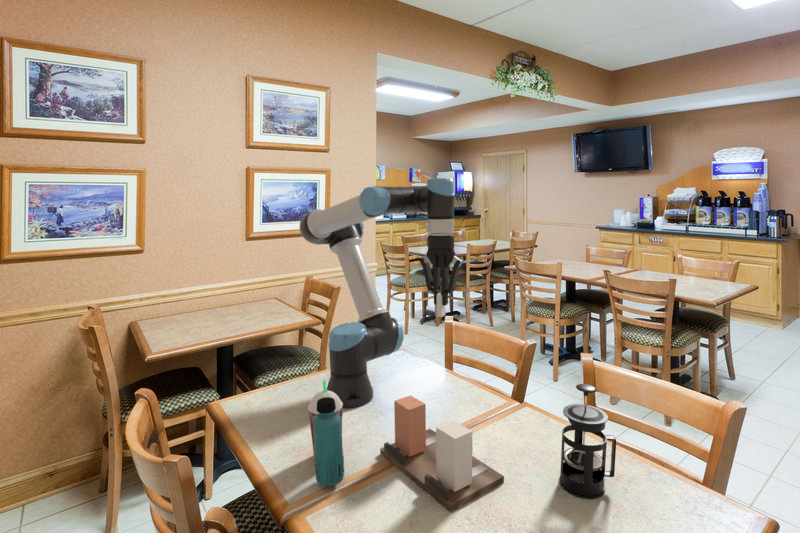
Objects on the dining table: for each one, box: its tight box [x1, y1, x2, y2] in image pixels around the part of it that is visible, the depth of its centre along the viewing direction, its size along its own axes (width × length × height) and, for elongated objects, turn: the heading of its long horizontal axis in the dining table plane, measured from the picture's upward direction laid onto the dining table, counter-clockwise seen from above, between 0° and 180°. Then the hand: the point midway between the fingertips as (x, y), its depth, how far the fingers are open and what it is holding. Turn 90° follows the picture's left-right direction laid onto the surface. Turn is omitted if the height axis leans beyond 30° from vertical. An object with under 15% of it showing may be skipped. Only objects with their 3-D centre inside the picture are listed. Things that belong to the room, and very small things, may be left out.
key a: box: [435, 420, 473, 492], centre depth 97 cm, size 5×6×12 cm
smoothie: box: [307, 379, 344, 457], centre depth 109 cm, size 8×8×20 cm
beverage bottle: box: [312, 397, 345, 487], centre depth 99 cm, size 6×7×20 cm
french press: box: [558, 383, 617, 500], centre depth 97 cm, size 12×9×23 cm
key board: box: [379, 428, 505, 513], centre depth 106 cm, size 16×26×4 cm, turn 35°
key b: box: [393, 395, 427, 457], centre depth 110 cm, size 5×6×12 cm
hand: (441, 315), depth 129 cm, fingers closed
